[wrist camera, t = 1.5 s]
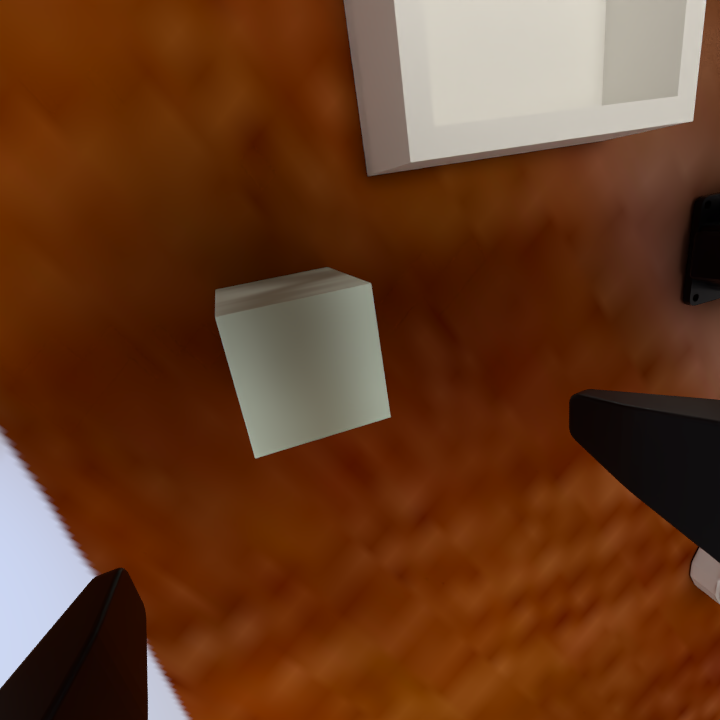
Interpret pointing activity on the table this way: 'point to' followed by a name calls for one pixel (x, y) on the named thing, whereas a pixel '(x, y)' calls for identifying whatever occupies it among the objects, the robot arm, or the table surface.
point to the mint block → (303, 356)
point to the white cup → (706, 574)
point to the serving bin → (516, 75)
